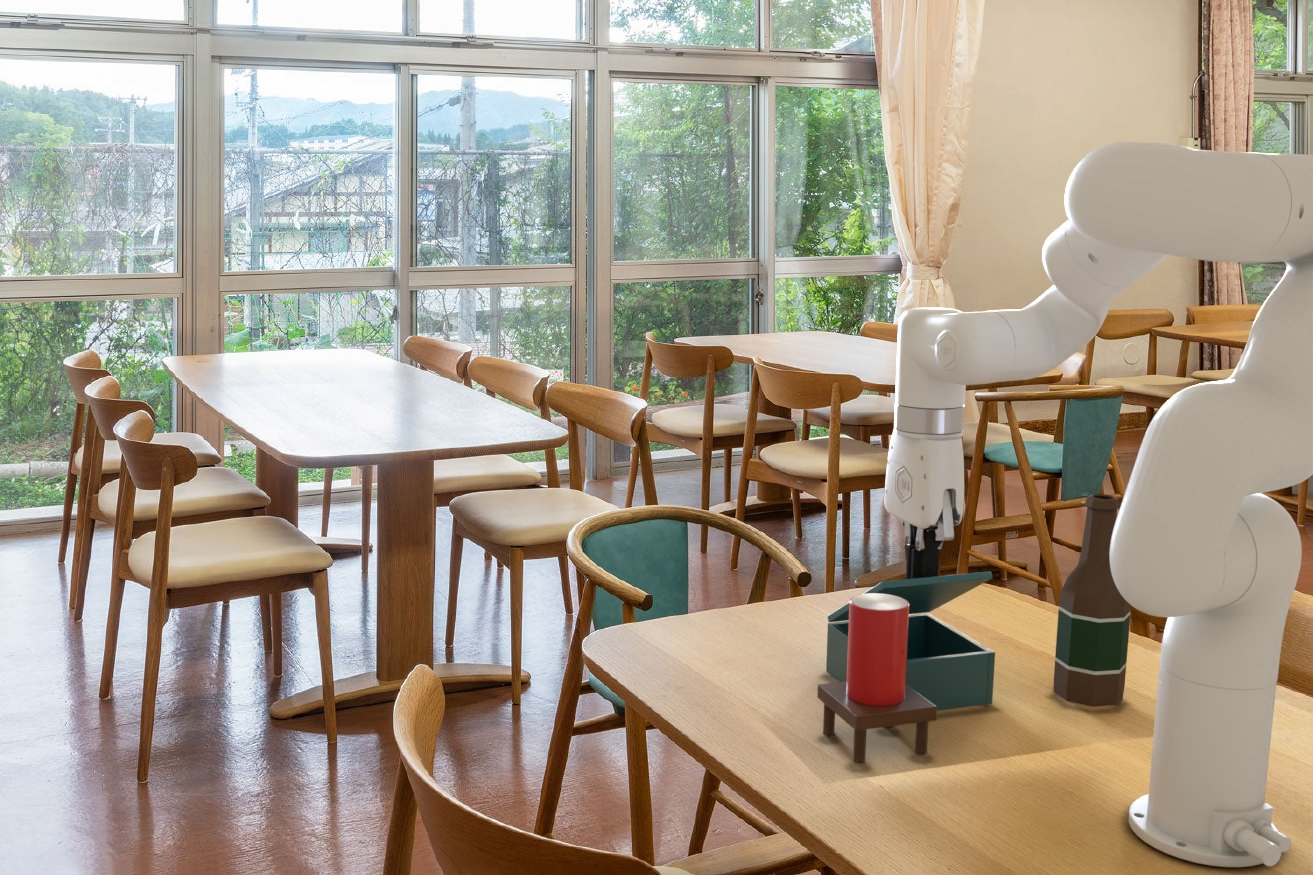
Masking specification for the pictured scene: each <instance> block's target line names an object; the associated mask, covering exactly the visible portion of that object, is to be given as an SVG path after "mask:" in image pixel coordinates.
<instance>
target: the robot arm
mask: <svg viewBox="0 0 1313 875" xmlns="http://www.w3.org/2000/svg"><path fill="white" fill-rule="evenodd" d="M1063 198H1064V200H1063V201H1064V210H1065V215H1066V217H1067V219H1066V221H1065V222H1063V223H1062V224H1061V225H1060V226H1058V227H1057V228H1056V229H1055V230H1054V231H1053V232H1051V233H1050V234H1049V236H1048V237H1047V238H1046V239H1045V242H1044V244H1043V246H1042V252H1041V260H1042V264H1043V268H1044V270H1045V273H1046V275H1047V276H1048V278H1049V280H1050V282H1051V283H1052V284H1053V285H1052V286H1050V287H1049V288H1048V289H1047V290H1046V291H1045V292H1043V293H1042V294H1041V295H1040V296H1039V297H1038V298H1036V299H1035V300H1034V301H1032V302H1030V304H1028V305H1027V306H1025V307H1023V308H1021V309H1020V308H1019V309H999V310H998V309H997V310H996V309H994V310H992V309H991V310H983V311H966V312H963V311H961V310H959V309H956V308H950V307H913V308H909V309H906V310H905V311H903V312H902V314H901V315H900V316H899V318H898V323H897V325H898V326H897V340H896V342H897V344H896V345H897V346H896V368H895V371H896V372H895V394H894V395H895V396H894V417H893V418H894V421H893V430H892V434H891V437H890V442H889V443H890V444H889V448H888V455H887V463H886V470H885V471H886V472H885V481H884V482H885V483H884V485H885V486H884V496H883V497H884V499H883V506H884V508H885V510H886V511H887V513H888V514H889V515H891V516H893V517H895V518H896V519H897V521H898V522H900V523H901V525H902V526H903V528H904V542H905V545H906V564H905V579H915V578H926V577H937V576H939V569H940V568H939V567H940V550H941V549H942V548H943V545H944V542H945V541H953V540H954V539H955V529H954V527H957V526H959V525H960V524H961V522H962V520H963V514H964V506H965V504H964V503H965V461H964V447H963V438H962V437H963V436H964V428H965V427H964V426H965V408H966V392H967V391H966V389H967V386H974V385H975V386H977V385H985V384H987V385H988V384H995V383H1003V382H1017V381H1028V380H1032V379H1035V378H1039V377H1041V376H1043V375H1045V374H1047V373H1049V372H1051V371H1053V370H1054V369H1056V368H1057V367H1059V366H1060V365H1062V364H1063V363H1064V362H1066V361H1067V360H1068V359H1070V358H1071V357H1072V356H1073V355H1075V354H1076V353H1077V352H1078V351H1081V349H1083V348H1084V347H1085V346H1086V345H1088V344H1089V343H1090V342H1091V341H1092V340H1093V339H1094V338H1095V337H1096V335H1097V334H1098V332H1099V331H1100V329H1101V328H1102V326H1103V324H1104V322H1105V320H1106V318H1107V316H1108V313H1109V311H1110V305H1111V302H1112V301H1113V300H1114V299H1115V298H1117V297H1118V296H1120V295H1121V294H1122V293H1123V292H1124V291H1126V290H1127V289H1128V288H1129V287H1131V286H1132V285H1133V284H1134V283H1136V282H1137V281H1138V280H1139V279H1141V278H1142V277H1144V275H1146V274H1147V273H1148V272H1151V270H1152V269H1154V268H1155V267H1156V266H1157V265H1159V264H1160V263H1161V262H1163V261H1165V259H1167V258H1168V257H1170V256H1173V257H1181V258H1186V259H1192V260H1198V261H1205V262H1214V263H1215V262H1216V263H1261V262H1263V263H1264V262H1267V263H1268V262H1269V263H1270V262H1283V263H1284V264H1285V265H1286V268H1285V272H1284V274H1283V276H1282V278H1281V279H1280V280H1279V282H1278V283H1277V285H1276V286H1275V287H1274V288H1273V290H1272V291H1271V292H1270V293H1269V296H1267V298H1266V300H1264V302H1263V304H1262V306H1261V307H1260V308H1259V310H1258V312H1257V314H1256V316H1255V318H1254V321H1253V322H1252V325H1251V328H1250V331H1249V334H1248V338H1247V341H1246V343H1245V347H1244V349H1243V351H1242V354H1241V356H1240V359H1239V360H1238V363H1237V365H1236V366H1235V369H1234V370H1233V373H1232V374H1231V376H1229V377H1228V378H1226V379H1223V380H1215V381H1207V382H1202V383H1198V384H1195V385H1191V386H1189V387H1186V388H1184V389H1182V390H1180V391H1178V392H1176V393H1175V394H1173V395H1172V396H1171V397H1170V398H1169V399H1167V401H1166V402H1164V403H1163V404H1162V405H1161V407H1160V408H1159V409H1158V410H1157V412H1156V413H1155V415H1154V416H1153V417H1152V419H1151V421H1150V422H1149V425H1148V426H1147V428H1146V431H1145V434H1144V436H1143V439H1142V442H1141V443H1140V447H1139V450H1138V453H1137V456H1136V458H1135V462H1134V464H1133V465H1134V466H1133V467H1132V472H1131V473H1130V477H1129V481H1128V483H1127V486H1126V489H1125V492H1124V495H1123V498H1122V500H1121V503H1120V507H1119V510H1118V512H1117V519H1116V522H1115V525H1114V529H1113V533H1112V537H1111V543H1110V552H1109V559H1110V569H1111V573H1112V577H1113V580H1114V583H1115V585H1116V587H1117V589H1118V591H1119V592H1120V594H1121V595H1122V597H1123V598H1124V599H1125V600H1126V601H1127V602H1128V603H1129V604H1130V605H1131V607H1133V608H1134V609H1135V610H1137V611H1139V612H1141V613H1144V614H1146V615H1148V616H1152V617H1157V618H1158V617H1159V618H1167V619H1166V622H1165V625H1164V630H1163V635H1162V640H1161V648H1160V659H1159V660H1160V661H1159V668H1158V680H1157V690H1156V691H1157V692H1156V701H1155V702H1156V703H1155V713H1154V714H1155V715H1154V725H1153V736H1152V737H1153V738H1152V750H1151V762H1150V773H1149V785H1148V786H1149V787H1148V793H1146V794H1144V795H1142V796H1140V797H1138V798H1137V799H1134V800H1133V802H1131V803H1130V806H1129V810H1128V824H1129V827H1130V829H1131V830H1132V831H1133V832H1134V834H1135V835H1136V836H1137V837H1138V838H1139V839H1140V840H1142V841H1143V842H1144V843H1146V844H1147V845H1148V846H1150V847H1152V848H1154V849H1156V850H1158V851H1160V852H1161V853H1164V854H1166V855H1169V856H1171V857H1174V858H1178V859H1180V860H1183V861H1187V862H1190V863H1194V864H1199V865H1203V866H1204V865H1205V866H1211V867H1220V868H1246V867H1247V868H1248V867H1255V866H1258V865H1262V864H1263V865H1265V867H1273V866H1276V865H1277V864H1278V862H1279V861H1280V860H1281V857H1282V853H1286V852H1288V851H1289V850H1290V849H1291V846H1292V839H1291V838H1290V837H1289V836H1288V835H1286V834H1284V833H1282V832H1280V831H1279V829H1278V828H1277V827H1276V825H1275V823H1273V816H1274V815H1273V814H1274V806H1272V805H1271V804H1268V803H1267V802H1265V800H1266V789H1267V780H1268V772H1269V771H1268V770H1269V761H1270V760H1269V759H1270V751H1271V750H1270V749H1271V740H1272V730H1273V722H1274V721H1273V720H1274V712H1275V703H1276V702H1275V701H1276V693H1277V691H1276V690H1277V682H1278V679H1279V669H1280V660H1281V653H1282V652H1281V651H1282V646H1283V645H1282V644H1283V638H1284V632H1285V627H1286V621H1287V617H1288V613H1289V609H1290V605H1291V603H1292V599H1293V597H1294V593H1295V589H1296V586H1297V583H1298V580H1299V576H1300V570H1301V565H1302V558H1303V557H1302V555H1303V554H1302V553H1303V547H1302V539H1301V535H1300V531H1299V529H1298V526H1297V524H1296V522H1295V521H1294V519H1293V516H1291V514H1290V512H1288V511H1287V509H1286V508H1285V507H1284V506H1282V504H1280V503H1279V502H1278V501H1276V500H1275V499H1272V498H1271V497H1270V496H1267V495H1265V494H1263V493H1268V492H1273V491H1277V490H1282V489H1287V488H1290V487H1293V486H1296V485H1298V484H1301V483H1303V482H1305V481H1306V480H1308V479H1309V478H1310V477H1312V476H1313V154H1301V153H1271V152H1270V153H1269V152H1267V153H1266V152H1249V151H1248V152H1247V151H1226V150H1225V151H1224V150H1210V149H1209V150H1206V149H1195V148H1192V147H1189V146H1185V145H1180V144H1174V143H1162V142H1160V143H1158V142H1139V141H1115V142H1110V143H1106V144H1104V145H1101V146H1099V147H1097V148H1094V150H1091V151H1090V152H1088V153H1087V154H1086V155H1085V156H1084V157H1082V159H1081V160H1080V161H1079V162H1078V164H1077V165H1076V166H1075V167H1074V168H1073V170H1072V172H1071V174H1070V175H1069V177H1068V179H1067V183H1066V186H1065V192H1064V197H1063Z"/></svg>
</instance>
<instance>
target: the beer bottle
mask: <svg viewBox="0 0 1313 875" xmlns="http://www.w3.org/2000/svg"><path fill="white" fill-rule="evenodd" d="M1084 506H1085V507H1086V513H1085V522H1084V527H1083V528H1084V529H1083V534H1082V542H1081V551H1080V555H1079V559H1078V561H1077V562H1078V563H1077V565H1076V566H1075V567H1074V569H1073V570H1072V571H1071V573H1070V574H1069V575H1068V576H1067V577H1066V580H1065V582H1064V584H1063V586H1062V588H1061V590H1060V597H1059V604H1058V611H1057V612H1058V613H1057V627H1056V640H1055V642H1056V643H1055V656H1054V667H1053V668H1054V670H1053V692H1054V693H1055V694H1057V696H1059V697H1060V698H1062V699H1063V700H1065V701H1066V702H1069V703H1074V704H1078V705H1084V706H1088V707H1105V706H1107V707H1108V706H1117V707H1118V706H1120V704H1121V703H1122V701H1123V700H1124V693H1125V685H1126V674H1127V661H1128V650H1129V648H1128V647H1129V638H1130V625H1131V611H1132V610H1131V609H1132V606H1131V605H1130V604H1129V603H1128V602H1127V601H1126V600H1125V599H1124V598H1123V597H1122V595H1121V594H1120V592H1119V591H1118V589H1117V587H1116V585H1115V583H1114V580H1113V577H1112V573H1111V569H1110V559H1109V552H1110V543H1111V537H1112V533H1113V529H1114V525H1115V522H1116V519H1117V516H1118V509H1120V507H1121V503H1120V498H1118V497H1116V496H1113V495H1110V494H1104V493H1093V494H1090V495H1088V496H1087V497H1086V499H1085V502H1084Z"/></svg>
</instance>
